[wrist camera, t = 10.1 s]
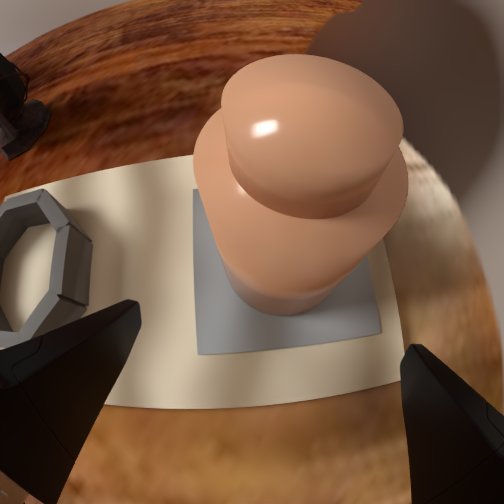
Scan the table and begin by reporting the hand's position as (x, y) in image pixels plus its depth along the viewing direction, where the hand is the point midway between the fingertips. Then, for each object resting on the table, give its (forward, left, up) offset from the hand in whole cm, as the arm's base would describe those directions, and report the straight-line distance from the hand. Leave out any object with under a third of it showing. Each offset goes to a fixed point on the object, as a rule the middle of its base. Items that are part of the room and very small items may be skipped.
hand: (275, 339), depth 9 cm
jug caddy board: (+2, +8, -8) cm, 12 cm away
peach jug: (+6, +1, -6) cm, 9 cm away
